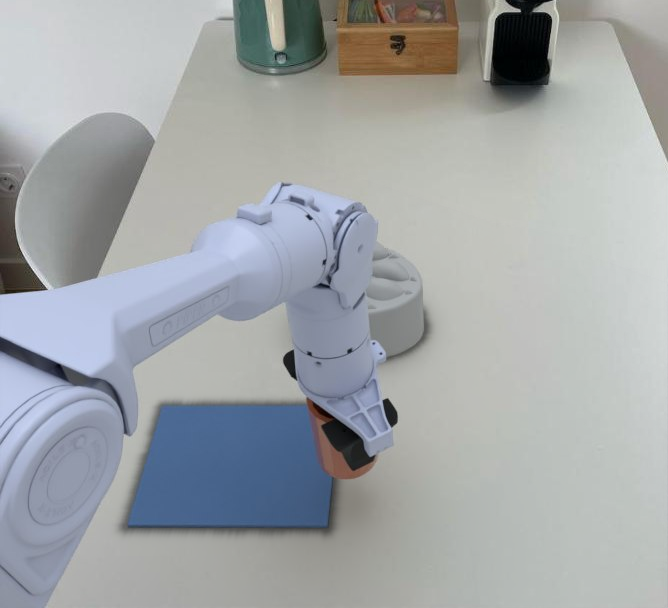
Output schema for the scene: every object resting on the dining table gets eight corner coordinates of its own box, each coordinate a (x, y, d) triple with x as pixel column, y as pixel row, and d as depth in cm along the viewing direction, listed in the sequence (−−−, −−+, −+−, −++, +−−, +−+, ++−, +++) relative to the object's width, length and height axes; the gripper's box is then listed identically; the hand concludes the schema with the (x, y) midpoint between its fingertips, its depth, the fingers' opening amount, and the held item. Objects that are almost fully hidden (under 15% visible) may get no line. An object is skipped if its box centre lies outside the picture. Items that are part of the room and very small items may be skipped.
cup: (357, 490, 67) (349, 434, 62) (305, 463, 69) (293, 406, 64) (390, 442, 70) (385, 385, 65) (339, 417, 72) (331, 360, 67)
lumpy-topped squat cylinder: (327, 280, 95) (320, 224, 89) (435, 300, 92) (434, 244, 86) (294, 346, 88) (283, 290, 82) (409, 370, 85) (406, 314, 79)
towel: (339, 407, 82) (339, 405, 81) (327, 527, 72) (327, 525, 72) (163, 407, 82) (162, 405, 82) (128, 527, 73) (127, 524, 72)
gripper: (428, 373, 56) (430, 481, 65) (336, 251, 65) (349, 360, 74) (336, 417, 53) (352, 522, 62) (254, 283, 63) (278, 392, 72)
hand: (345, 436), depth 68 cm, fingers closed on cup, 5 cm apart
